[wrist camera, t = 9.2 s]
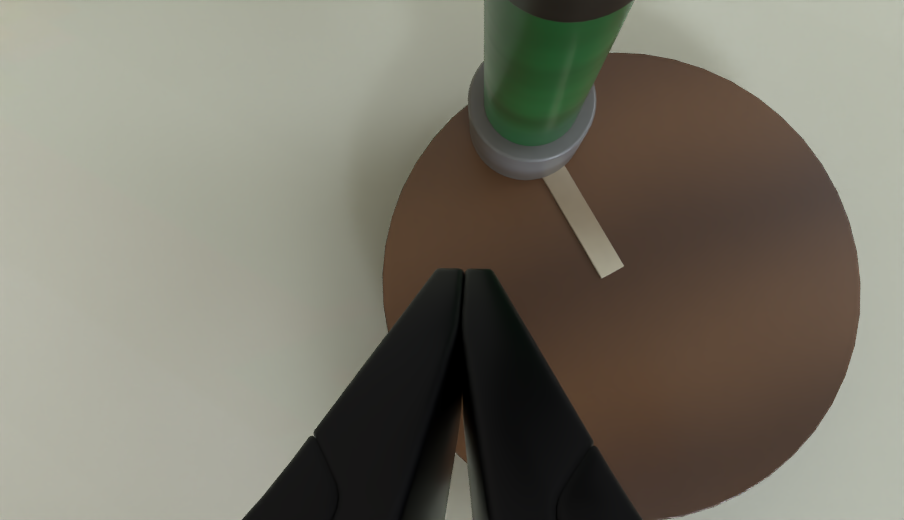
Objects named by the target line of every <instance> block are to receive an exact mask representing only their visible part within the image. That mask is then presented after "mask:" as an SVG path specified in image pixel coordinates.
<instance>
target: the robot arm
mask: <svg viewBox="0 0 904 520" xmlns="http://www.w3.org/2000/svg"><path fill="white" fill-rule="evenodd" d="M462 397H463V422H464V434H465V444H466V455H467V465H468V476H469V486H470V497H471V507H472V518H473V520H643V519H642V518H641V516H640V515H639V513H638V512H637V511H636V509H635V507H634V506H633V504H632V503H631V501H630V500H629V498H628V496H627V495H626V493H625V492H624V490H623V488H622V487H621V485H620V484H619V482H618V481H617V479H616V477H615V476H614V474H613V473H612V471H611V469H610V468H609V466H608V464H607V462H606V461H605V459H604V457H603V456H602V454H601V452H600V451H599V449H598V447H597V446H593V443H594V441H593V439H592V437H591V436H590V434H589V432H588V431H587V429H586V427H585V426H584V424H583V422H582V420H581V419H580V417H579V415H578V414H577V412H576V410H575V409H574V407H573V405H572V404H571V402H570V400H569V398H568V397H567V395H566V393H565V392H564V390H563V388H562V387H561V385H560V383H559V381H558V380H557V378H556V376H555V375H554V373H553V371H552V370H551V368H550V366H549V364H548V363H547V361H546V359H545V358H544V356H543V354H542V353H541V351H540V349H539V347H538V346H537V344H536V342H535V341H534V339H533V337H532V336H531V334H530V332H529V330H528V329H527V327H526V325H525V324H524V322H523V320H522V319H521V317H520V315H519V313H518V312H517V310H516V308H515V307H514V305H513V303H512V302H511V300H510V298H509V296H508V295H507V293H506V291H505V290H504V288H503V286H502V285H501V283H500V281H499V279H498V278H497V276H496V274H495V273H494V271H493V270H491V269H467V270H466V271H465V274H464V271H463V270H462V269H460V268H438V269H437V270H435V271H434V273H433V274H432V275H431V277H430V278H429V279H428V281H427V282H426V283H425V285H424V286H423V287H422V289H421V290H420V291H419V293H418V294H417V295H416V297H415V298H414V299H413V301H412V302H411V303H410V304H409V306H408V307H407V308H406V310H405V311H404V312H403V314H402V315H401V316H400V318H399V319H398V320H397V322H396V323H395V324H394V326H393V327H392V328H391V330H390V331H389V332H388V334H387V335H386V336H385V338H384V339H383V340H382V342H381V343H380V344H379V346H378V347H377V348H376V350H375V351H374V352H373V354H372V355H371V356H370V357H369V359H368V360H367V361H366V363H365V364H364V365H363V367H362V368H361V369H360V371H359V372H358V373H357V375H356V376H355V377H354V379H353V380H352V381H351V383H350V384H349V385H348V387H347V388H346V389H345V391H344V392H343V393H342V395H341V396H340V397H339V399H338V400H337V401H336V403H335V404H334V405H333V407H332V408H331V409H330V410H329V412H328V413H327V414H326V416H325V417H324V418H323V420H322V421H321V422H320V424H319V425H318V426H317V428H316V429H315V430H314V436H310V437H309V438H308V439H307V440H306V442H305V443H304V444H303V446H302V447H301V448H300V450H299V451H298V453H297V454H296V455H295V457H294V458H293V459H292V461H291V462H290V463H289V464H288V466H287V467H286V468H285V469H284V470H283V472H282V473H281V474H280V475H279V477H278V478H277V479H276V480H275V482H274V483H273V484H272V485H271V487H270V488H269V489H268V490H267V492H266V493H265V494H264V495H263V497H262V498H261V499H260V500H259V501H258V502H257V503H256V504H255V506H254V507H253V508H252V509H251V510H250V511H249V512H248V513H247V515H246V516H245V517H244V518H243V519H242V520H444V519H445V513H446V506H447V500H448V494H449V488H450V482H451V476H452V470H453V463H454V457H455V451H456V445H457V439H458V433H459V426H460V419H461V411H462Z"/></svg>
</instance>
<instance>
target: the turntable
mask: <svg viewBox="0 0 904 520" xmlns="http://www.w3.org/2000/svg"><path fill="white" fill-rule="evenodd" d="M633 2H634V0H484V61H483V62H482V63H481V65H480V66H479V68H478V69H477V71H476V72H475V74H474V76H473V79H472V81H471V84H470V88H469V93H468V105H467V106H466V107H464V108H463V109H462V110H461V111H460V112H459V113H457V114H456V115H455V116H454V117H453V118H452V119H451V120H450V121H449V122H448V123H447V124H446V125H445V126H444V127H443V129H442V130H441V131H440V132H439V133H438V134H437V135H436V136H435V137H434V138H433V140H432V141H431V142H430V144H429V145H428V147H427V148H426V149H425V151H424V152H423V154H422V155H421V157H420V158H419V159H418V161H417V162H416V164H415V166H414V168H413V170H412V171H411V173H410V175H409V177H408V179H407V181H406V183H405V185H404V187H403V189H402V191H401V194H400V196H399V199H398V202H397V205H396V207H395V210H394V213H393V215H392V219H391V223H390V228H389V232H388V236H387V241H386V245H385V255H384V266H383V302H384V311H385V317H386V323H387V329H388V332H389V331H390V330H391V328H392V327H393V326H394V324H395V323H396V322H397V320H398V319H399V318H400V316H401V315H402V314H403V312H404V311H405V310H406V308H407V307H408V306H409V304H410V303H411V302H412V301H413V299H414V298H415V297H416V295H417V294H418V293H419V291H420V290H421V289H422V287H423V286H424V285H425V283H426V282H427V281H428V279H429V278H430V277H431V275H432V274H433V273H434V271H435V270H437V269H438V268H460V269H462V270H463V271H464V274H465V271H466V270H467V269H491V270H493V271H494V273H495V274H496V276H497V278H498V279H499V281H500V283H501V285H502V286H503V288H504V290H505V291H506V293H507V295H508V296H509V298H510V300H511V302H512V303H513V305H514V307H515V308H516V310H517V312H518V313H519V315H520V317H521V319H522V320H523V322H524V324H525V325H526V327H527V329H528V330H529V332H530V334H531V336H532V337H533V339H534V341H535V342H536V344H537V346H538V347H539V349H540V351H541V353H542V354H543V356H544V358H545V359H546V361H547V363H548V364H549V366H550V368H551V370H552V371H553V373H554V375H555V376H556V378H557V380H558V381H559V383H560V385H561V387H562V388H563V390H564V392H565V393H566V395H567V397H568V398H569V400H570V402H571V404H572V405H573V407H574V409H575V410H576V412H577V414H578V415H579V417H580V419H581V420H582V422H583V424H584V426H585V427H586V429H587V431H588V432H589V434H590V436H591V437H592V439H593V441H594V443H593V446H597V447H598V449H599V451H600V452H601V454H602V456H603V457H604V459H605V461H606V462H607V464H608V466H609V468H610V469H611V471H612V473H613V474H614V476H615V477H616V479H617V481H618V482H619V484H620V485H621V487H622V488H623V490H624V492H625V493H626V495H627V496H628V498H629V500H630V501H631V503H632V504H633V506H634V507H635V509H636V511H637V512H638V513H639V515H640V516H641V518H642V519H643V520H665V519H671V518H677V517H683V516H686V515H689V514H692V513H696V512H699V511H702V510H706V509H709V508H712V507H714V506H717V505H719V504H721V503H723V502H725V501H727V500H730V499H732V498H734V497H736V496H738V495H740V494H742V493H744V492H746V491H747V490H749V489H750V488H752V487H753V486H755V485H756V484H758V483H759V482H761V481H763V480H764V479H766V478H767V477H769V476H770V475H771V474H772V473H773V472H775V471H776V470H777V469H778V468H779V467H780V466H782V465H783V464H784V463H785V462H786V461H787V460H789V459H790V458H791V457H792V456H793V455H794V454H795V453H796V452H797V451H798V449H799V448H800V447H801V446H802V445H803V444H804V443H805V441H806V440H807V439H808V438H809V437H810V436H811V435H812V433H813V432H814V431H815V430H816V428H817V427H818V425H819V423H820V422H821V420H822V419H823V417H824V416H825V414H826V413H827V411H828V410H829V408H830V407H831V405H832V403H833V401H834V399H835V397H836V395H837V392H838V390H839V388H840V386H841V384H842V382H843V380H844V378H845V375H846V372H847V369H848V365H849V362H850V359H851V356H852V352H853V349H854V346H855V340H856V334H857V328H858V321H859V315H860V275H859V267H858V258H857V250H856V246H855V243H854V239H853V235H852V231H851V227H850V223H849V220H848V217H847V215H846V212H845V210H844V207H843V205H842V202H841V200H840V197H839V195H838V192H837V190H836V188H835V187H834V185H833V183H832V181H831V180H830V178H829V176H828V174H827V172H826V171H825V169H824V167H823V165H822V164H821V162H820V161H819V160H818V158H817V157H816V156H815V154H814V153H813V152H812V150H811V149H810V148H809V146H808V145H807V144H806V142H805V141H804V140H803V139H802V137H801V136H800V135H799V134H798V133H797V132H796V131H795V130H794V129H793V128H792V127H791V126H790V125H789V124H788V123H787V122H786V121H785V120H784V119H783V118H782V117H781V116H780V115H779V114H777V113H776V112H775V111H774V110H772V109H771V108H770V107H769V106H767V105H766V104H765V103H764V102H762V101H761V100H760V99H759V98H757V97H756V96H754V95H752V94H751V93H749V92H748V91H746V90H744V89H743V88H741V87H739V86H738V85H736V84H735V83H733V82H731V81H729V80H727V79H725V78H723V77H720V76H718V75H716V74H714V73H712V72H709V71H707V70H705V69H702V68H699V67H696V66H693V65H690V64H686V63H683V62H680V61H677V60H673V59H668V58H662V57H657V56H651V55H645V54H630V53H609V51H610V49H611V47H612V45H613V43H614V41H615V39H616V37H617V35H618V33H619V31H620V29H621V27H622V25H623V23H624V21H625V19H626V17H627V15H628V13H629V11H630V9H631V7H632V4H633ZM455 452H456V453H457V454H458V455H459V456H460V457H461V458H462V459H463V460H464V461H465V462H466V463H467V455H466V444H465V434H464V422H463V397H462V411H461V419H460V426H459V433H458V439H457V445H456V451H455Z"/></svg>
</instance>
